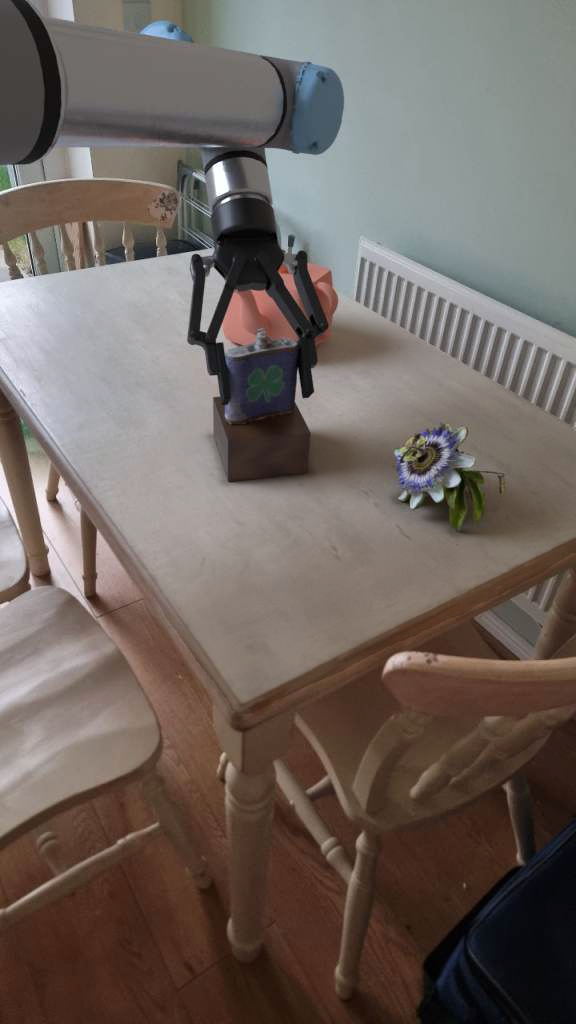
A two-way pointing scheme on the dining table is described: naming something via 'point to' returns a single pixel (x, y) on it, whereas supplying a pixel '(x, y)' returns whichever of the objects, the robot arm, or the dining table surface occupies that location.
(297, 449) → the walnut block
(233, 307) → the teapot
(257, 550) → the dining table surface
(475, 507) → the passion flower
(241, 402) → the flask
